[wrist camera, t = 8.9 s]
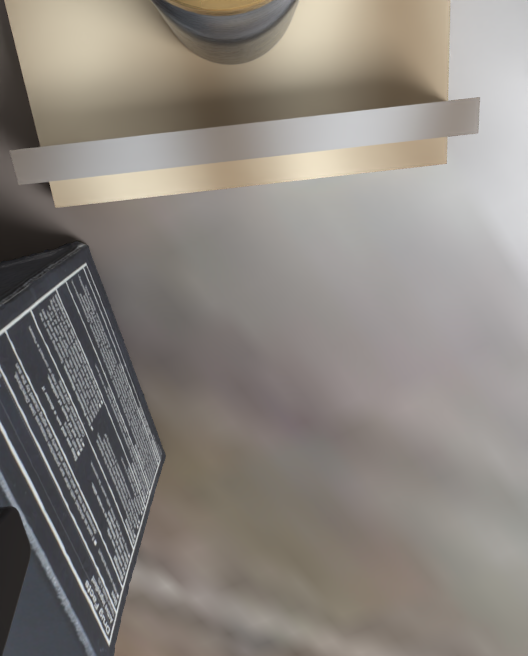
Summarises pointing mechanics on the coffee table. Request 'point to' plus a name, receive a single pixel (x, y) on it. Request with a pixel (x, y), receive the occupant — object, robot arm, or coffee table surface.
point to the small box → (71, 452)
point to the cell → (228, 26)
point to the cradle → (230, 98)
